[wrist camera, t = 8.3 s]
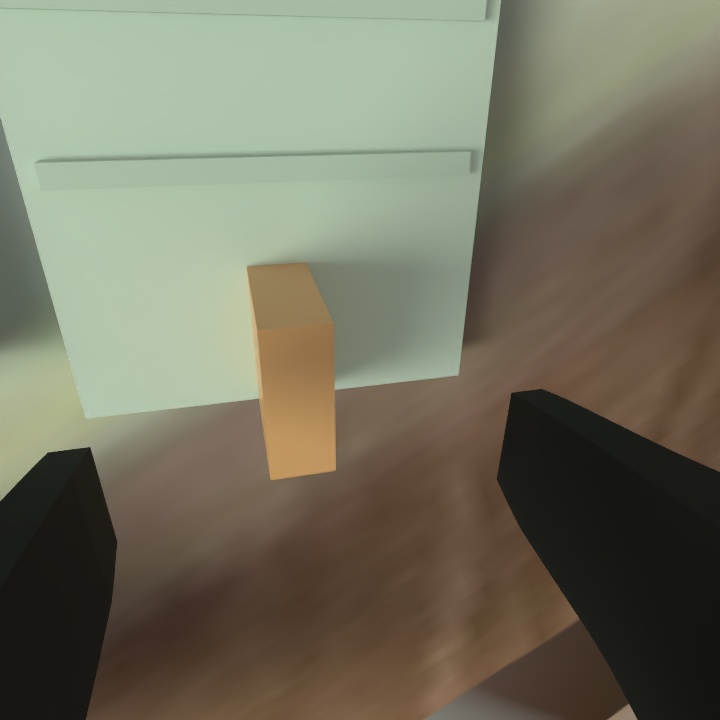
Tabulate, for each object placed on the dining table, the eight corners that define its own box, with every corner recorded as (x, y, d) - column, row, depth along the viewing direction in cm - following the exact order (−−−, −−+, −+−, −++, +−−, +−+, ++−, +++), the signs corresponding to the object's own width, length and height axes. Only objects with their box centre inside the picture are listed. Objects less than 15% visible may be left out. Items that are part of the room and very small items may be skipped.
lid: (441, 352, 19) (516, 449, 15) (95, 389, 17) (50, 519, 12) (487, -150, 13) (650, -270, 8) (-61, -203, 10) (-286, -417, 6)
